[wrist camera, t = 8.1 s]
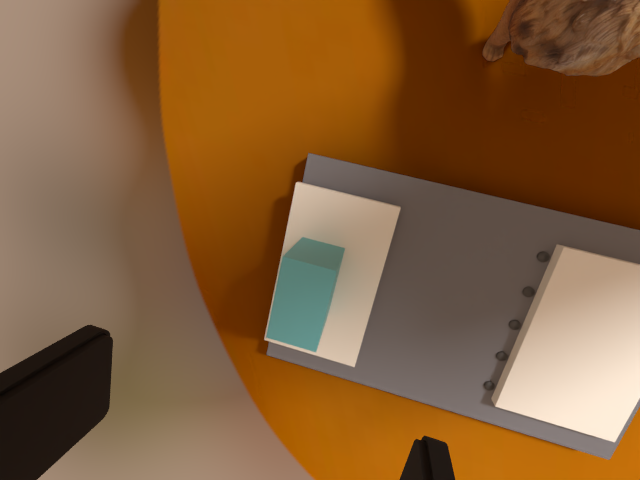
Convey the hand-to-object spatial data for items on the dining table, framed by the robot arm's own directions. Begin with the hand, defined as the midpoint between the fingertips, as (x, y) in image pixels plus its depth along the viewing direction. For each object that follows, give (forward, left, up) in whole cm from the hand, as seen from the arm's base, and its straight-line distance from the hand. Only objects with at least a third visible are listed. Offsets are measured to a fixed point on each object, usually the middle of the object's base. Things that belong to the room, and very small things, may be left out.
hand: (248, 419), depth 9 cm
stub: (0, 0, -15) cm, 14 cm away
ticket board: (-10, 0, -16) cm, 19 cm away
